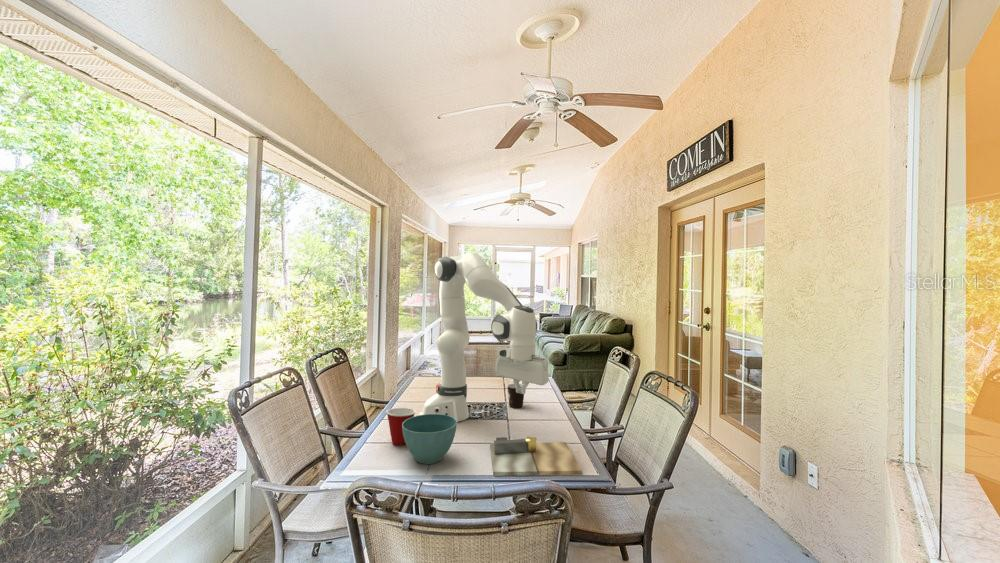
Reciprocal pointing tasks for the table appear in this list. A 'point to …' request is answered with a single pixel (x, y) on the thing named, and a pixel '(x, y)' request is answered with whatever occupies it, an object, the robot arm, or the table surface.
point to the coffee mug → (515, 397)
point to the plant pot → (429, 436)
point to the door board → (536, 461)
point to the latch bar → (515, 445)
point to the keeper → (501, 438)
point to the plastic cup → (398, 423)
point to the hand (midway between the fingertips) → (520, 393)
